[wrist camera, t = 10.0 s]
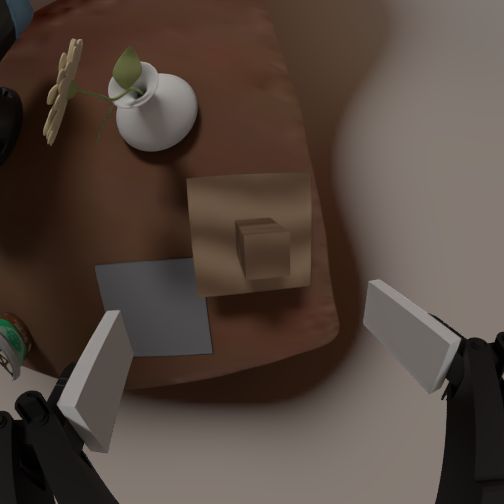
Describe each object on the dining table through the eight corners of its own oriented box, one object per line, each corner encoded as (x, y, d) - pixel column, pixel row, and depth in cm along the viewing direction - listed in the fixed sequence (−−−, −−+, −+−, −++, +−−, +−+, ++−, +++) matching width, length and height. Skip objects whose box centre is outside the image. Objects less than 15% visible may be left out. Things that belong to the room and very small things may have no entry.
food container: (46, 343, 39) (24, 373, 30) (34, 354, 39) (14, 383, 30) (7, 295, 35) (-21, 318, 26) (-2, 310, 36) (-28, 333, 26)
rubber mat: (95, 265, 37) (94, 266, 37) (201, 256, 40) (201, 257, 39) (119, 355, 42) (119, 356, 42) (212, 351, 44) (212, 353, 44)
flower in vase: (150, 66, 30) (94, -39, 7) (214, 100, 34) (226, -4, 10) (100, 140, 32) (-20, 114, 9) (161, 177, 36) (83, 185, 12)
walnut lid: (187, 178, 30) (178, 180, 21) (306, 172, 31) (342, 173, 23) (198, 293, 34) (196, 333, 25) (307, 282, 35) (336, 315, 27)
